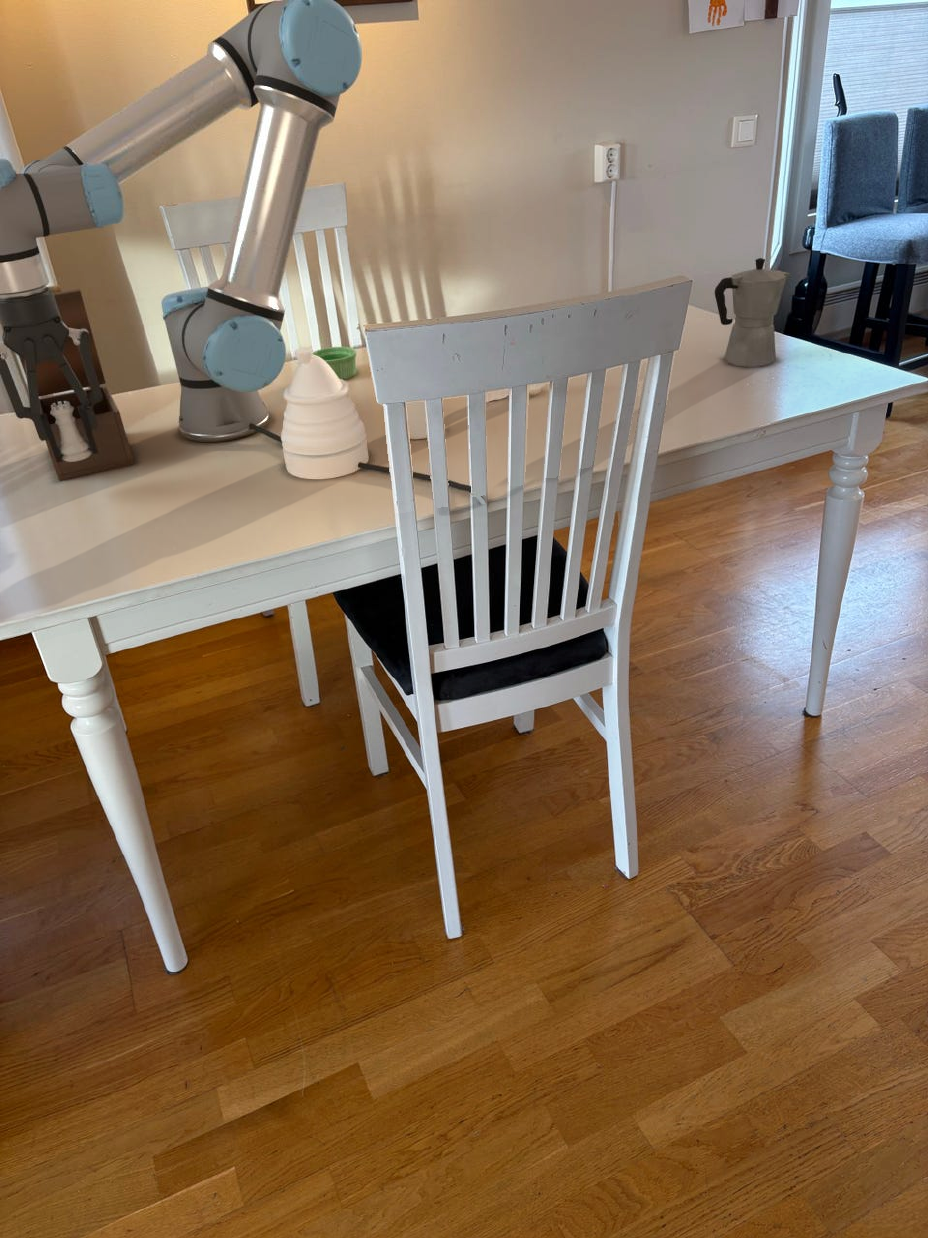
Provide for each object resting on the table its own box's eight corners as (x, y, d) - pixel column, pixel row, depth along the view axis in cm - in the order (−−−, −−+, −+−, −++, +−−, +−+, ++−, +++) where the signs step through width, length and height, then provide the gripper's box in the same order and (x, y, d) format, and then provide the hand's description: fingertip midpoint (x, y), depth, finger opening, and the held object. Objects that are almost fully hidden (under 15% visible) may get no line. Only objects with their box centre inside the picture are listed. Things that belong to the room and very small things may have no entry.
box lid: (80, 290, 140) (73, 274, 143) (0, 303, 136) (-4, 286, 140) (105, 383, 152) (99, 366, 155) (33, 397, 148) (27, 379, 151)
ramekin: (356, 381, 173) (353, 358, 170) (309, 384, 173) (306, 361, 171) (361, 367, 180) (358, 345, 178) (316, 369, 181) (313, 348, 178)
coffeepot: (763, 347, 173) (774, 248, 164) (795, 360, 166) (809, 257, 156) (694, 361, 169) (702, 260, 160) (724, 374, 162) (733, 269, 152)
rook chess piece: (99, 453, 133) (82, 400, 128) (74, 464, 130) (56, 411, 125) (80, 448, 135) (63, 396, 130) (55, 459, 132) (36, 407, 127)
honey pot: (349, 481, 133) (331, 361, 123) (271, 476, 137) (248, 358, 127) (380, 448, 143) (366, 334, 134) (307, 444, 147) (289, 332, 137)
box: (134, 463, 145) (119, 411, 140) (58, 480, 141) (40, 427, 136) (120, 434, 157) (106, 384, 152) (50, 449, 153) (33, 399, 148)
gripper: (85, 274, 125) (133, 433, 138) (-50, 297, 119) (12, 460, 132) (92, 283, 119) (141, 448, 132) (-50, 308, 114) (15, 478, 126)
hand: (76, 454), depth 132 cm, fingers closed on rook chess piece, 4 cm apart
